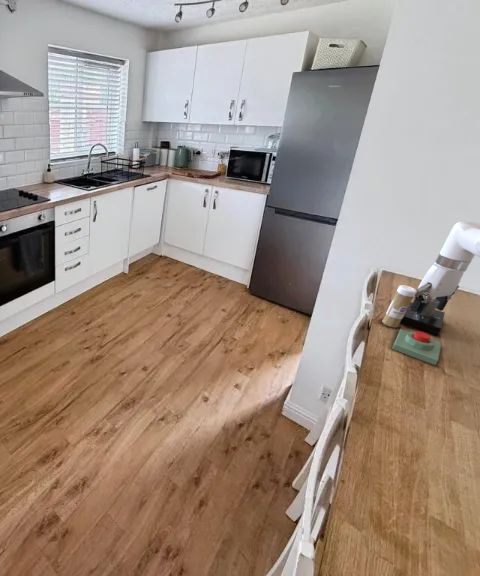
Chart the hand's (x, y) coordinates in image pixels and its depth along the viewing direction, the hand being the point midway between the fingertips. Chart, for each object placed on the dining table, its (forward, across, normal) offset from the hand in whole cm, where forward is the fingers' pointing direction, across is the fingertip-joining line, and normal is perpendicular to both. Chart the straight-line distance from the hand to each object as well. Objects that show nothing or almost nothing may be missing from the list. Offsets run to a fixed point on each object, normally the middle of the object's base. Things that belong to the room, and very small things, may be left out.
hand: (426, 310), depth 121 cm
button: (+1, +17, +11) cm, 20 cm away
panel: (+4, 0, 0) cm, 4 cm away
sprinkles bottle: (+5, +12, -1) cm, 13 cm away
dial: (+1, 0, 0) cm, 1 cm away
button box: (+5, +17, +11) cm, 21 cm away
